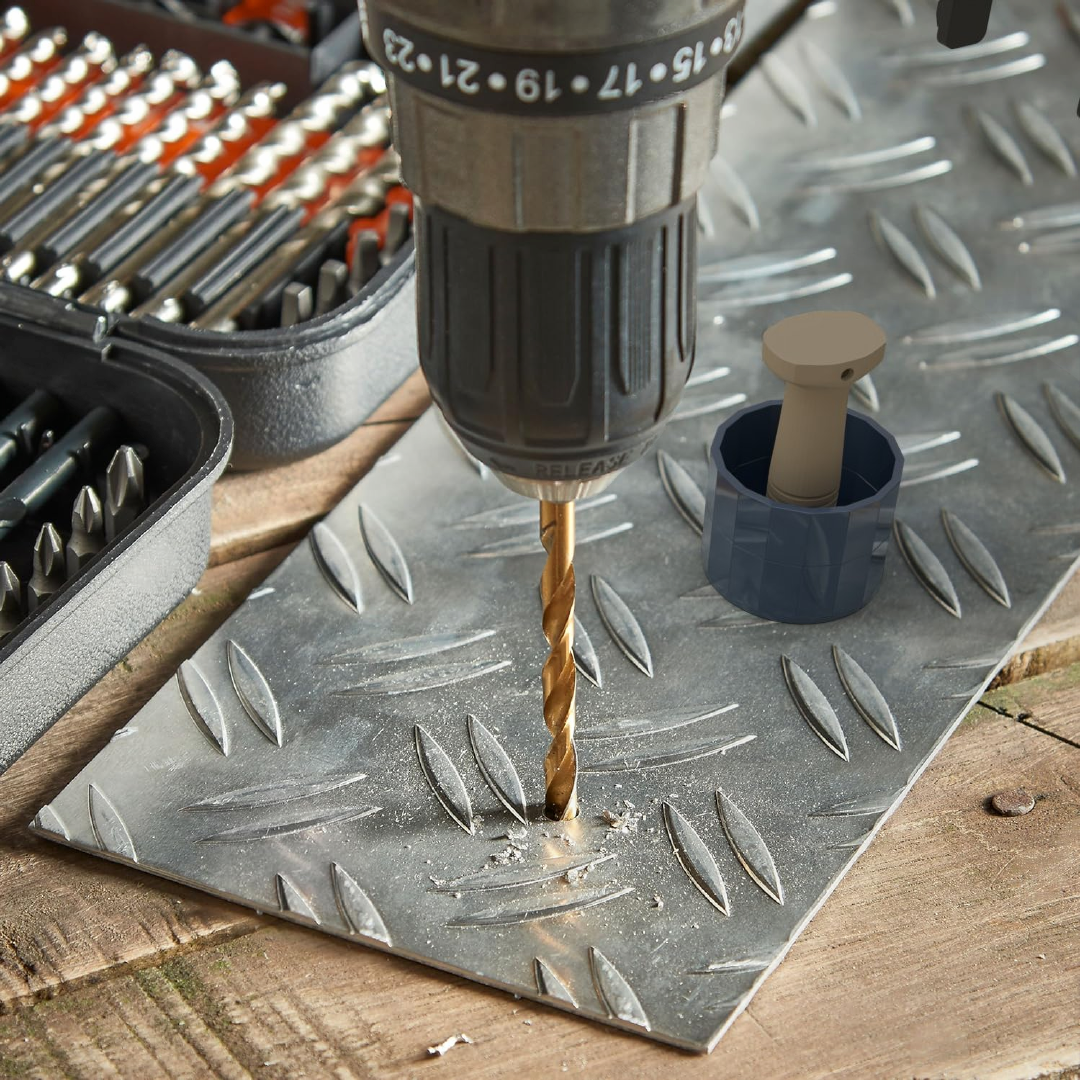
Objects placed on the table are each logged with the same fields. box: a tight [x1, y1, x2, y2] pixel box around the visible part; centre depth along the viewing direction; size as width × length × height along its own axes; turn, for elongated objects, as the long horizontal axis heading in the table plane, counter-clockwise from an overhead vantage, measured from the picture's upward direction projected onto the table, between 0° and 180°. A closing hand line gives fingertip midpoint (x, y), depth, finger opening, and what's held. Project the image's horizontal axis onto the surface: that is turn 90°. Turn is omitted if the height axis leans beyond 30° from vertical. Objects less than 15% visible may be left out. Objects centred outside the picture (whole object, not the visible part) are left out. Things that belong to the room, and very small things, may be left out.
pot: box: [700, 398, 906, 625], centre depth 87 cm, size 10×10×8 cm
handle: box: [761, 309, 887, 508], centre depth 84 cm, size 5×6×15 cm
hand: (1026, 79), depth 64 cm, fingers open, 8 cm apart
